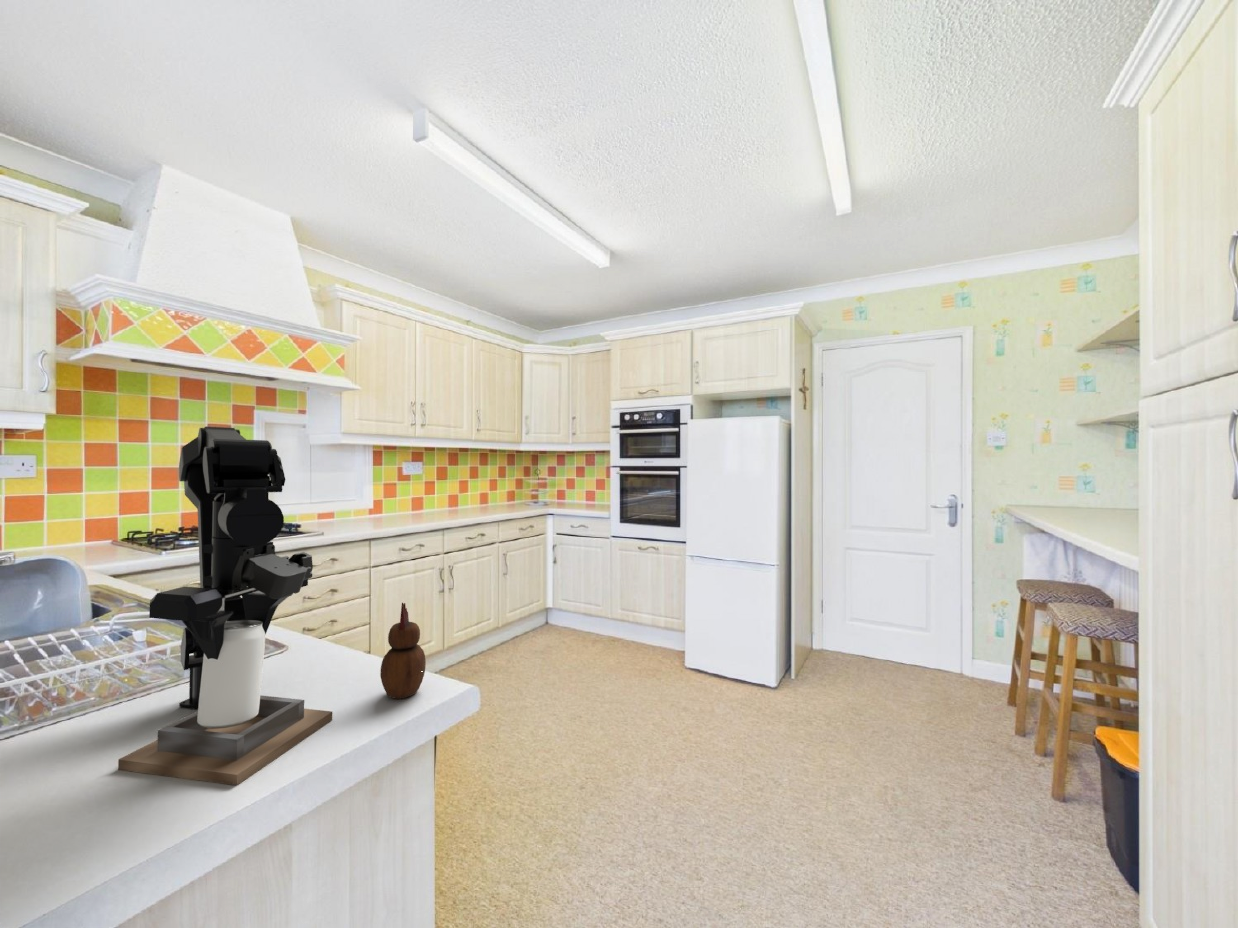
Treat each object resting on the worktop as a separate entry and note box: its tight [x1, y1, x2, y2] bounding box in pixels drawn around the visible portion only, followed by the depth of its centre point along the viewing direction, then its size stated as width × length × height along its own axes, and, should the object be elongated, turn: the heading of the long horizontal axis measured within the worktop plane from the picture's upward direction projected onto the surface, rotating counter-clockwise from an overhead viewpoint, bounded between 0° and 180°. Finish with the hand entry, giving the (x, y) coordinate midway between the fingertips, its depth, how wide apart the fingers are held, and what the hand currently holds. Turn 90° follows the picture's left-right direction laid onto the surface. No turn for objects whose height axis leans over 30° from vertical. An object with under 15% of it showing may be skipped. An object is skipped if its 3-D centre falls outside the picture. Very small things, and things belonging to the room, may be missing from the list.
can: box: [197, 620, 266, 729], centre depth 71 cm, size 6×6×12 cm
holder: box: [117, 694, 333, 786], centre depth 71 cm, size 16×16×4 cm
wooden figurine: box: [379, 602, 427, 700], centre depth 87 cm, size 7×6×15 cm
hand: (236, 655), depth 71 cm, fingers closed on can, 6 cm apart
